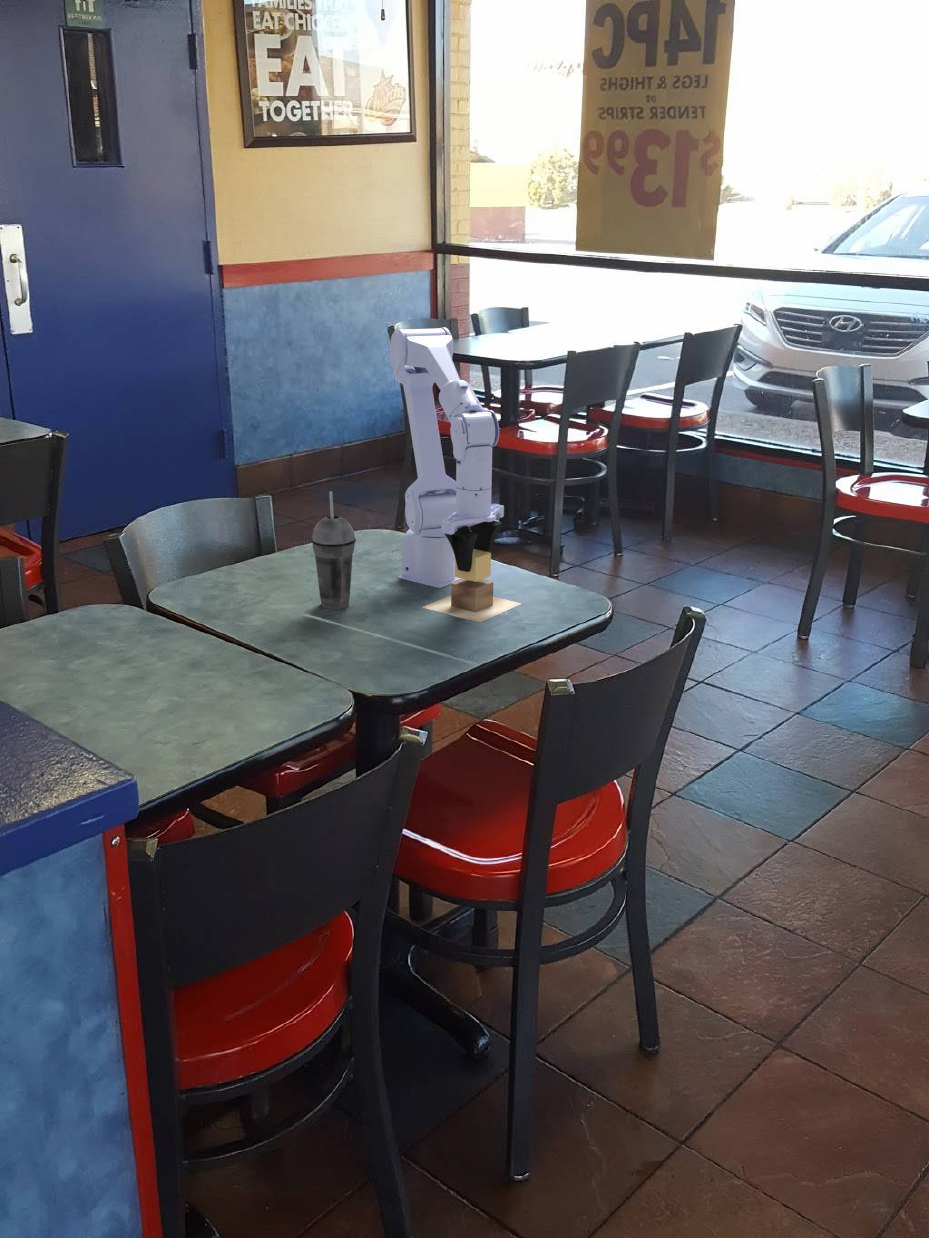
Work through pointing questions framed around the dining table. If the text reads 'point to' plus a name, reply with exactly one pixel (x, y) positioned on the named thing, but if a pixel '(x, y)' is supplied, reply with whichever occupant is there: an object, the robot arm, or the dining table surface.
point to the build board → (479, 616)
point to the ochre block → (476, 567)
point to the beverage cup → (334, 559)
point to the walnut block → (472, 594)
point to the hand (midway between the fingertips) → (472, 567)
